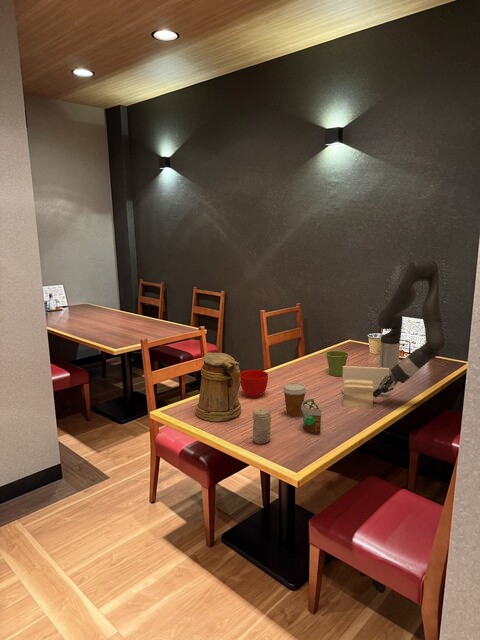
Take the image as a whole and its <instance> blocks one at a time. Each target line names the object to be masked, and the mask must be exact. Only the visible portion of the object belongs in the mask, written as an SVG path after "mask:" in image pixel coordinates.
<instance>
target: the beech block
mask: <svg viewBox="0 0 480 640" xmlns="http://www.w3.org/2000/svg"><path fill="white" fill-rule="evenodd" d="M342 399H343V403H342V407H347V408H363V409H373V407H374V405H373V404H374V403H373V401H374V396H373V382H372V380H358V379H344V394H343V398H342Z"/></svg>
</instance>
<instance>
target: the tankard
mask: <svg viewBox="0 0 480 640" xmlns="http://www.w3.org/2000/svg"><path fill="white" fill-rule="evenodd" d="M202 362H203V364H202V366H201V370H200V375H201V382H200V390H199V397H198V403H197V405H196V408H195V409H196V410H195V415H196V416H197V417H198V418H199V419H202V420H204V421H209V422H215V423H216V422H217V423H218V422H227V421H229V420H233V419H235V418H238V416H240V414H241V412H242V406H241V402H240V401H239V394H238V393H239V390H240V387H241V383H240V382H241V375H240V373H241V369H240V366H241V364H240V362H238V361H236V360H235V358H234V357H232V355H229V354H228V353H225V352H224V353H223V352H207V353H206V354H205V355H204V356H203V357H202Z"/></svg>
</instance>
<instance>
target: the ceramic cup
mask: <svg viewBox="0 0 480 640" xmlns="http://www.w3.org/2000/svg"><path fill="white" fill-rule="evenodd" d="M240 375H241V382H240V387H241V389H242V391H243V393H244V394H245V395H246V396H247V397H249V398H253V399H255V398H258V397H259V398H260V397H261V396H262V395H263V394H264V393H265V391H266V389H267V387H268V382H269V381H268V380H269V373H268V372H267V371H265V370H261V369H247V370H243V371H240Z"/></svg>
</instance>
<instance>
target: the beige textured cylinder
mask: <svg viewBox="0 0 480 640" xmlns="http://www.w3.org/2000/svg"><path fill="white" fill-rule="evenodd" d="M271 416H272V414H271V411H270V409H269V408H267V407H257V408H255V409H254V410H253V411H252V420H253V421H252V437H253V441H254V443H256V444H266V443H268V442H269V441H270V440H271V436H272V435H271V422H272V417H271Z"/></svg>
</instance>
